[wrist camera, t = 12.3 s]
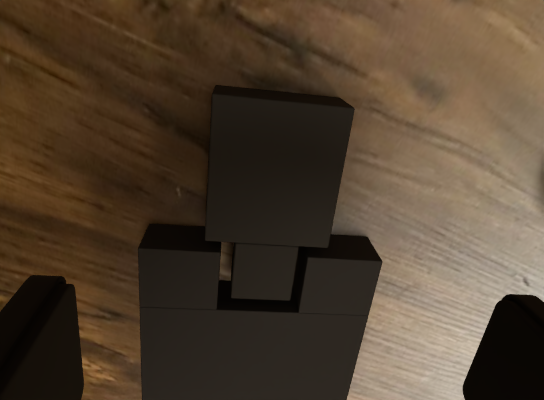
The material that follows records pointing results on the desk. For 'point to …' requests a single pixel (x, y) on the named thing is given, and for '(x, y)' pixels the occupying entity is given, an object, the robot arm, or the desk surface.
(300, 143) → the black pad
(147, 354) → the base pad
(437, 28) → the desk surface
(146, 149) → the desk surface
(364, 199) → the desk surface
